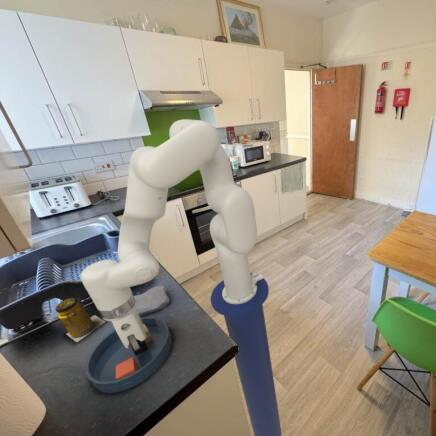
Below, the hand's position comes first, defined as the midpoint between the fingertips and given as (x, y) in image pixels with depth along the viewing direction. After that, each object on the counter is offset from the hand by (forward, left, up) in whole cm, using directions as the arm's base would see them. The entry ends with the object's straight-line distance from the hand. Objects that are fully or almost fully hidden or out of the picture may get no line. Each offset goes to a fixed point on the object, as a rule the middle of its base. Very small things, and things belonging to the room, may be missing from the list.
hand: (141, 350), depth 69 cm
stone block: (-6, -20, -2) cm, 20 cm away
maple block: (-1, -5, -1) cm, 5 cm away
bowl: (+2, -2, -2) cm, 3 cm away
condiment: (+13, -23, -2) cm, 27 cm away
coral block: (+4, +5, -1) cm, 7 cm away
